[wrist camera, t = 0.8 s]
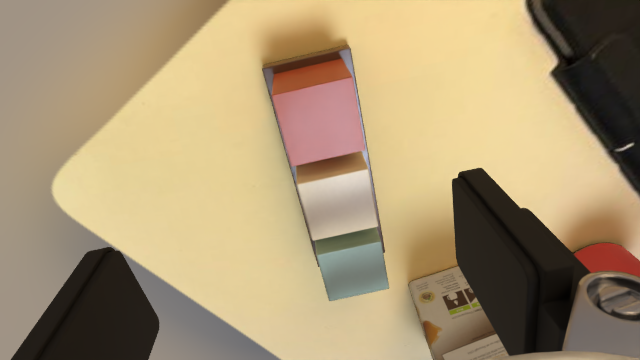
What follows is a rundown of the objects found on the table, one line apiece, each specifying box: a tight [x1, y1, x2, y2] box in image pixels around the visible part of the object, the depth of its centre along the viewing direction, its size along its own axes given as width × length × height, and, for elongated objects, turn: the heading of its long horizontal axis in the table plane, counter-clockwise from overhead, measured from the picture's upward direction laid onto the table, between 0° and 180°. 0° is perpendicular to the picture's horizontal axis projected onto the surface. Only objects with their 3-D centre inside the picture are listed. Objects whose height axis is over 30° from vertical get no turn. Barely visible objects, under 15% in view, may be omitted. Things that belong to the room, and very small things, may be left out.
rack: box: [262, 45, 389, 301], centre depth 27 cm, size 17×6×5 cm, turn 12°
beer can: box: [574, 243, 640, 277], centre depth 31 cm, size 7×7×12 cm
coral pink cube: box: [272, 58, 365, 167], centre depth 24 cm, size 4×4×4 cm
